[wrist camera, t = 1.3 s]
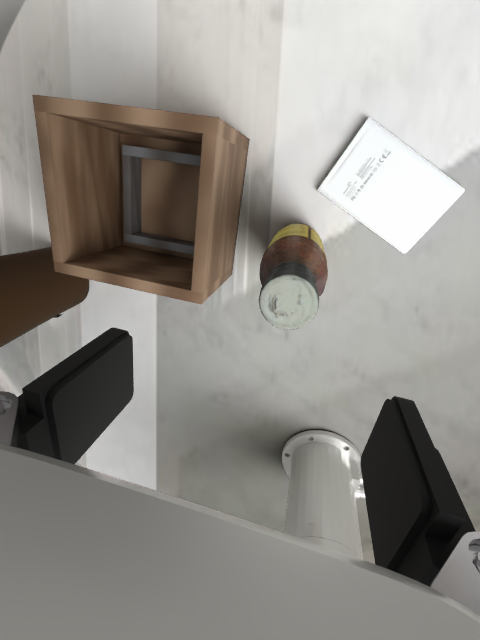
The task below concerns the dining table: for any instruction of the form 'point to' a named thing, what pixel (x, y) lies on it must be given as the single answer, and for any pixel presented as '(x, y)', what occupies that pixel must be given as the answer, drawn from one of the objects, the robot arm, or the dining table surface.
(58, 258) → the walled box
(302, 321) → the sauce bottle
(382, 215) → the external hard drive
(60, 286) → the olive oil
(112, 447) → the dining table surface
